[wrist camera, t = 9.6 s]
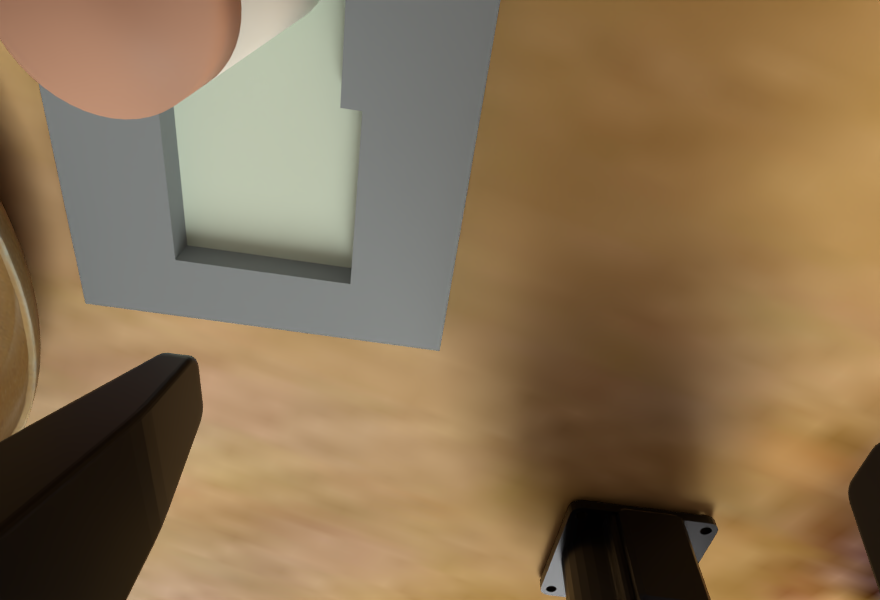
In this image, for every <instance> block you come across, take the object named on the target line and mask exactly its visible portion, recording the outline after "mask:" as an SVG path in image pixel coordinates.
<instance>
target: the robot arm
mask: <svg viewBox="0 0 880 600" xmlns="http://www.w3.org/2000/svg"><path fill="white" fill-rule="evenodd" d="M202 412H203V401H202V392H201V384H200V375H199V367H198V363H197V361H196V359H195V358H194V357H192V356H189V355H180V354H172V353H162V354H160V355H157V356H155V357H154V358H152V359H150V360H148V361H146V362H144V363H143V364H141V365H139V366H137V367H135V368H133V369H132V370H130V371H128V372H126V373H124V374H123V375H121V376H119V377H117V378H115V379H113V380H112V381H110V382H108V383H106V384H104V385H102V386H101V387H99V388H97V389H95V390H93V391H91V392H90V393H88V394H86V395H84V396H82V397H81V398H79V399H77V400H75V401H73V402H71V403H70V404H68V405H66V406H64V407H62V408H60V409H59V410H57V411H55V412H53V413H51V414H49V415H48V416H46V417H44V418H42V419H40V420H39V421H37V422H35V423H33V424H31V425H29V426H28V427H26V428H24V429H22V430H20V431H18V432H17V433H15V434H13V435H11V436H9V437H8V438H6V439H4V440H2V441H0V600H126V599H127V597H128V595H129V593H130V591H131V589H132V587H133V585H134V583H135V581H136V579H137V577H138V575H139V573H140V571H141V569H142V567H143V565H144V563H145V561H146V559H147V557H148V555H149V553H150V551H151V549H152V547H153V545H154V543H155V541H156V539H157V536H158V534H159V532H160V530H161V528H162V525H163V523H164V520H165V518H166V515H167V512H168V510H169V507H170V504H171V502H172V499H173V496H174V493H175V491H176V488H177V485H178V482H179V480H180V477H181V474H182V471H183V469H184V466H185V463H186V460H187V458H188V455H189V452H190V449H191V447H192V444H193V441H194V438H195V436H196V433H197V430H198V427H199V425H200V421H201V417H202ZM848 495H849V501H850V505H851V508H852V511H853V514H854V517H855V520H856V523H857V526H858V529H859V532H860V535H861V538H862V541H863V544H864V547H865V550H866V553H867V556H868V559H869V562H870V565H871V568H872V571H873V574H874V577H875V580H876V583H877V586H878V589H879V592H880V443H878V444H877V445H875V447H874V448H873V449H872V450H871V452H870V453H869V455H868V456H867V458H866V459H865V461H864V462H863V464H862V465H861V467H860V468H859V470H858V471H857V473H856V474H855V476H854V477H853V479H852V480H851V482H850V485H849V491H848ZM717 531H718V528H717V526H716V523H715V520H714V519H713V518H712V517H709V516H704V515H696V514H688V513H680V512H672V511H664V510H656V509H648V508H640V507H632V506H624V505H616V504H608V503H601V502H593V501H585V500H578V501H574V502H572V503H571V504H570V505H569V507H568V509H567V512H566V514H565V517H564V520H563V522H562V525H561V527H560V530H559V533H558V535H557V538H556V540H555V543H554V546H553V548H552V551H551V553H550V556H549V558H548V561H547V564H546V566H545V569H544V571H543V574H542V577H541V579H540V587H541V591H542V593H544V594H547V595H553V596H562V597H566V600H711V599H710V596H709V593H708V591H707V588H706V585H705V582H704V579H703V576H702V573H701V570H700V567H699V564H698V563H699V561H700V560H701V558H702V557H703V555H704V553H705V552H706V550H707V548H708V547H709V545H710V543H711V542H712V540H713V538H714V537H715V535H716V534H717Z"/></svg>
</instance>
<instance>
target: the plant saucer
mask: <svg viewBox="0 0 880 600" xmlns="http://www.w3.org/2000/svg"><path fill="white" fill-rule="evenodd" d="M40 345H41V344H40V330H39V319H38V311H37V304H36V299H35V295H34V290H33V286H32V282H31V277H30V274H29V271H28V267H27V264H26V261H25V257H24V254H23V251H22V249H21V246H20V244H19V241H18V239H17V236H16V234H15V231H14V229H13V227H12V225H11V222H10V220H9V218H8V216H7V213H6V211H5V209H4V207H3V205H2V203H1V201H0V441H2V440H4V439H6V438H8V437H9V436H11V435H13V434H15V433H17V432H18V431H20V430H22V429H23V428H24V426H25V424H26V422H27V419H28V416H29V413H30V411H31V408H32V404H33V400H34V396H35V392H36V388H37V383H38V376H39V368H40Z"/></svg>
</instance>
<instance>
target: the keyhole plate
mask: <svg viewBox="0 0 880 600" xmlns="http://www.w3.org/2000/svg"><path fill="white" fill-rule="evenodd" d="M499 5H500V0H320V1H319V2H318V4H317V5H316V6H315V7H314V8H313V9H312V11H310V12H309V13H308V14H307V15H305V16H304V17H303V18H301V19H300V20H298V21H297V22H295V23H294V24H292V25H291V26H290V27H288V28H287V29H285V30H284V31H282V32H281V33H279V34H278V35H276V36H275V37H274V38H272V39H271V40H269V41H268V42H266V43H265V44H263V45H262V46H261V47H259V48H258V49H256V50H255V51H253V52H252V53H250V54H249V55H248V56H246V57H245V58H243V59H242V60H240V61H239V62H237V63H236V64H234V65H233V66H232V67H230V68H229V69H227V70H226V71H224V72H223V73H221V74H220V75H219V76H217V77H216V78H214V79H213V80H211V81H210V82H208V83H207V84H206V85H204V86H203V87H201V88H200V89H198V90H197V91H195V92H194V93H192V94H191V95H190V96H188V97H187V98H185V99H184V100H182V101H181V102H179V103H178V104H177V105H175V106H174V107H172V108H170V109H168V110H166V111H164V112H162V113H160V114H157V115H154V116H151V117H146V118H141V119H126V120H125V119H114V118H108V117H103V116H98V115H95V114H92V113H89V112H86V111H83V110H81V109H79V108H77V107H75V106H72V105H70V104H68V103H67V102H65V101H63V100H62V99H60V98H58V97H56V96H55V95H54V94H52V93H51V92H49V91H48V90H47V89H45V88H44V87H42V86H41V85H40V84H39V87H40V92H41V97H42V101H43V106H44V111H45V115H46V120H47V125H48V130H49V134H50V139H51V144H52V148H53V153H54V158H55V162H56V167H57V172H58V176H59V181H60V186H61V190H62V195H63V200H64V205H65V209H66V214H67V219H68V223H69V228H70V233H71V237H72V242H73V247H74V251H75V256H76V261H77V266H78V270H79V275H80V280H81V284H82V289H83V294H84V298H85V303H86V304H94V305H101V306H109V307H116V308H124V309H131V310H139V311H146V312H153V313H161V314H168V315H176V316H183V317H191V318H198V319H206V320H213V321H220V322H228V323H235V324H243V325H250V326H258V327H265V328H273V329H280V330H287V331H295V332H302V333H310V334H317V335H325V336H332V337H339V338H347V339H354V340H362V341H369V342H377V343H384V344H392V345H399V346H406V347H414V348H421V349H429V350H436V351H440V345H441V340H442V334H443V328H444V322H445V317H446V311H447V305H448V299H449V294H450V288H451V282H452V276H453V271H454V265H455V259H456V253H457V247H458V242H459V236H460V230H461V224H462V219H463V213H464V207H465V201H466V196H467V190H468V184H469V178H470V172H471V167H472V161H473V155H474V149H475V144H476V138H477V132H478V126H479V121H480V115H481V109H482V103H483V97H484V92H485V86H486V80H487V74H488V69H489V63H490V57H491V51H492V46H493V40H494V34H495V28H496V23H497V17H498V11H499Z"/></svg>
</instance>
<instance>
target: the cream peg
mask: <svg viewBox="0 0 880 600" xmlns="http://www.w3.org/2000/svg"><path fill="white" fill-rule="evenodd" d="M319 1H320V0H0V40H1V41H2V43H3V44H4V46H5V47H6V49H7V50H8V51H9V53H10V54H11V55H12V56H13V58H14V59H15V60H16V61H17V63H18V64H19V65H20V66H21V67H22V68H23V69H24V70H25V71H26V72H27V73H28V74H29V75H30V76H31V77H32V78H33V79H34V80H36V81H37V82H38V83H39V84H40V85H41V86H42V87H44V88H45V89H47V90H48V91H49V92H51V93H52V94H54V95H55V96H56V97H58V98H60V99H62V100H63V101H65V102H67V103H68V104H70V105H72V106H75V107H77V108H79V109H81V110H83V111H86V112H89V113H92V114H95V115H98V116H103V117H108V118H114V119H125V120H126V119H141V118H146V117H151V116H154V115H157V114H160V113H162V112H164V111H166V110H168V109H170V108H172V107H174V106H175V105H177V104H178V103H179V102H181V101H182V100H184V99H185V98H187V97H188V96H190V95H191V94H192V93H194V92H195V91H197V90H198V89H200V88H201V87H203V86H204V85H206V84H207V83H208V82H210V81H211V80H213V79H214V78H216V77H217V76H219V75H220V74H221V73H223V72H224V71H226V70H227V69H229V68H230V67H232V66H233V65H234V64H236V63H237V62H239V61H240V60H242V59H243V58H245V57H246V56H248V55H249V54H250V53H252V52H253V51H255V50H256V49H258V48H259V47H261V46H262V45H263V44H265V43H266V42H268V41H269V40H271V39H272V38H274V37H275V36H276V35H278V34H279V33H281V32H282V31H284V30H285V29H287V28H288V27H290V26H291V25H292V24H294V23H295V22H297V21H298V20H300V19H301V18H303V17H304V16H305V15H307V14H308V13H309V12H310V11H312V9H313V8H314V7H315V6H316V5H317V4H318V2H319Z"/></svg>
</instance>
